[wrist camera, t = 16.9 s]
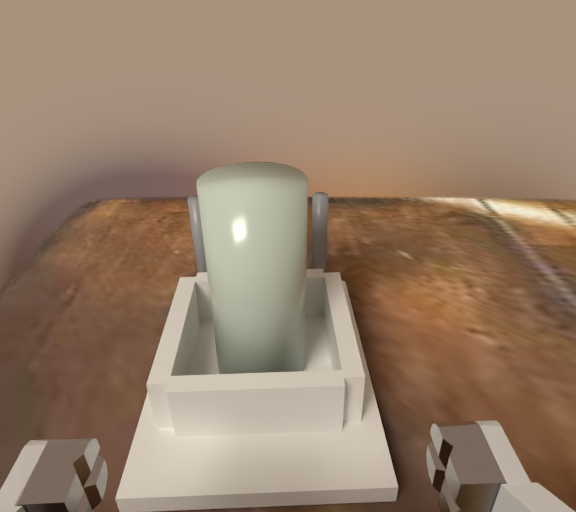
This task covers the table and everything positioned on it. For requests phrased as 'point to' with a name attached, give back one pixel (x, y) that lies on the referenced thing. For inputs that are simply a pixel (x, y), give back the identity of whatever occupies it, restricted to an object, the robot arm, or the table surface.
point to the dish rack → (258, 409)
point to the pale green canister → (256, 264)
